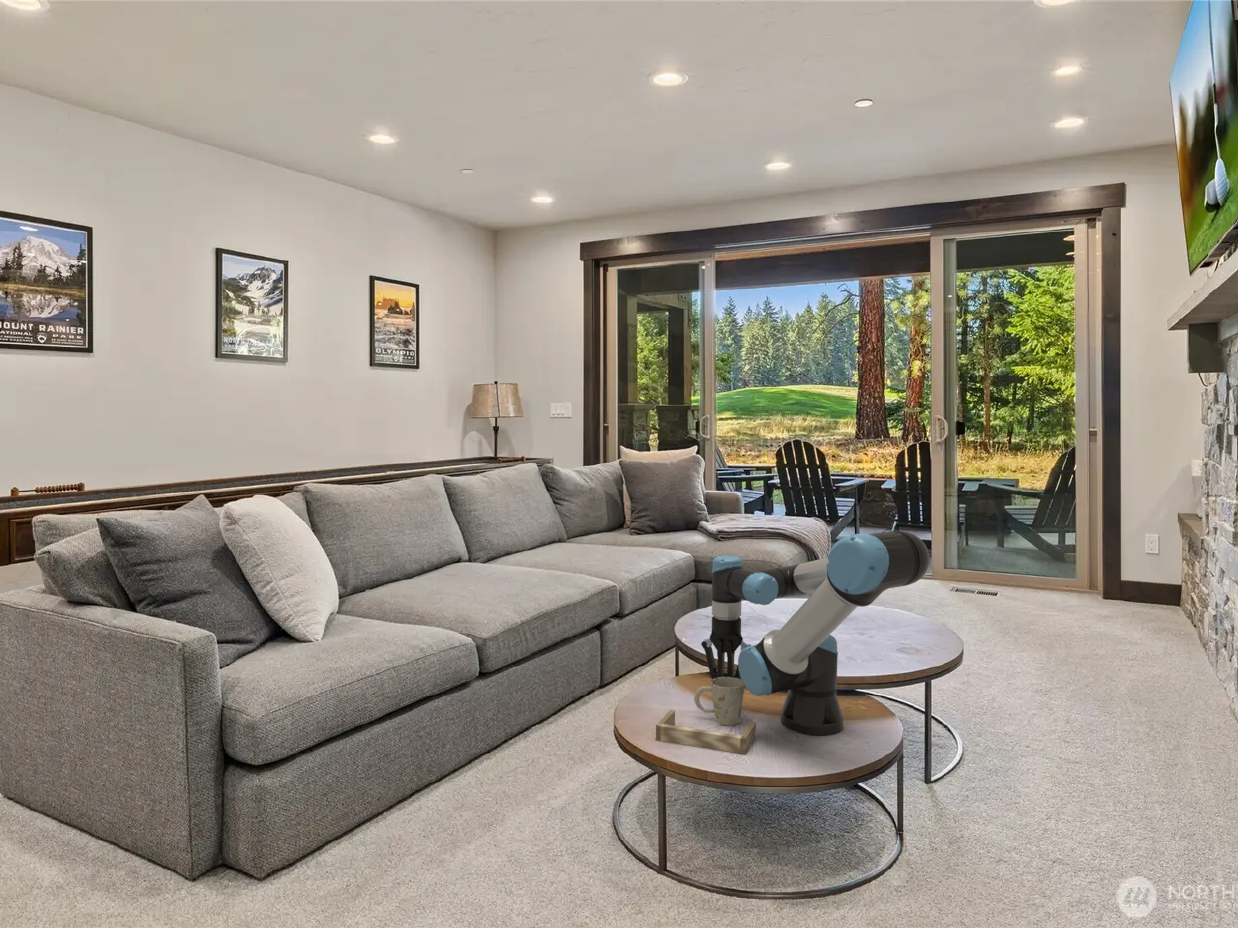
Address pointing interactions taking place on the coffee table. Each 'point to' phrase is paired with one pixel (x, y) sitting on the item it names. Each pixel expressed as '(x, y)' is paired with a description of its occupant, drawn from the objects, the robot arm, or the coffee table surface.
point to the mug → (724, 699)
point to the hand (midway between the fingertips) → (725, 706)
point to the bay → (704, 736)
